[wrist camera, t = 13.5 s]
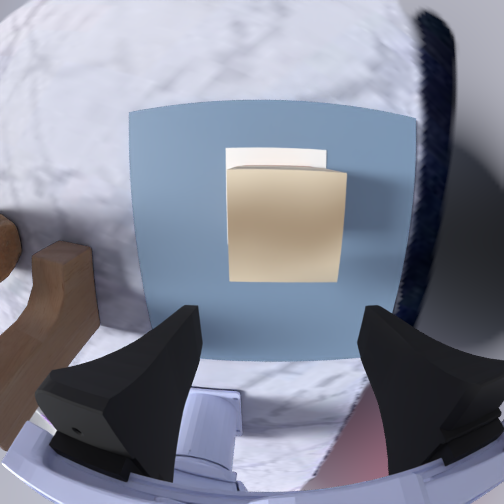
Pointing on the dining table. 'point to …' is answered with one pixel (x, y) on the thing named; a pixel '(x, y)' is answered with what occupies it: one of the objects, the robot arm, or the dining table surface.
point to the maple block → (285, 223)
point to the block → (8, 247)
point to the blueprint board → (216, 222)
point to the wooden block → (46, 331)
